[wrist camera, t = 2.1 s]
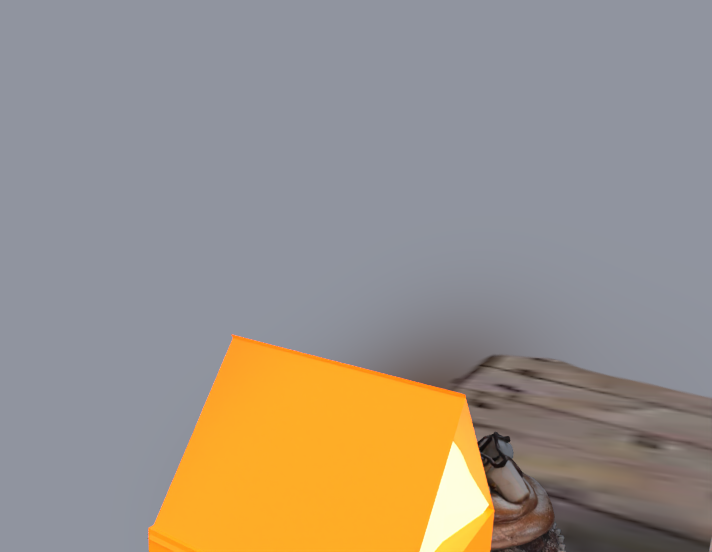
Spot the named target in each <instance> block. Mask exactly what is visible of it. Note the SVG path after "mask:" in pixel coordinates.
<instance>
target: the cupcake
mask: <svg viewBox="0 0 712 552" xmlns="http://www.w3.org/2000/svg"><path fill="white" fill-rule="evenodd" d="M508 442H510V437H509V436H506V437H503V436H501V435H499V434H498V433H497V432H494V434H492V435H489V436H485V437H483V438H482V439H481V440H480V441H479V442H477V445H478V449H479V452H480V456H481V460H482V464H483V468H484V472H485V476H486V480H487V484H488V488H489V492H490V496H491V500H492V504H493V508H494V519H493V529H492V539H491V548H490V552H566V551H564V548H565V546H566V545H565V544H564V543H563V540H564V537H563V536H560V532H561V530H560V529H559V528H557V529H555V526H556V523H555V522H554V512H553V508H552V503H551V501H550V499H549V497H548V495H547V493H546V492H545V490H544V489H543V488H542V487H541V485H540V484H539V483H538V482H537V481H536V480H535V479H534V478H532V477H530V476H528V475H526V474H524V473H523V472H522V471H521V470H520V468H519V467H518V466H517V464H516V463H515V462H514V461H513V460H512V458H513V449H512V446H511V445H510V444H509V443H508Z"/></svg>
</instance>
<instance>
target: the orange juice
mask: <svg viewBox="0 0 712 552" xmlns="http://www.w3.org/2000/svg"><path fill="white" fill-rule="evenodd" d="M232 337H233V339H232V342H231V344H230V346H229V349H228V351H227V354H226V356H225V358H224V361H223V363H222V365H221V368H220V370H219V373H218V375H217V377H216V380H215V382H214V384H213V387H212V389H211V391H210V394H209V396H208V398H207V401H206V403H205V406H204V408H203V410H202V413H201V415H200V418H199V420H198V422H197V424H196V427H195V429H194V432H193V434H192V436H191V439H190V441H189V443H188V446H187V448H186V450H185V453H184V455H183V458H182V460H181V462H180V465H179V467H178V469H177V472H176V474H175V476H174V479H173V481H172V484H171V486H170V489H169V491H168V493H167V496H166V498H165V500H164V503H163V505H162V507H161V510H160V512H159V514H158V517H157V519H156V522H155V524H154V525H153V526H151V527H150V528H149V538H148V539H149V552H490V548H491V539H492V529H493V519H494V508H493V504H492V500H491V496H490V492H489V488H488V484H487V480H486V476H485V472H484V468H483V464H482V460H481V456H480V452H479V449H478V445H477V441H476V437H475V433H474V429H473V425H472V421H471V417H470V413H469V409H468V405H467V401H466V397H465V395H464V394H460V393H456V392H453V391H449V390H445V389H441V388H437V387H433V386H429V385H425V384H421V383H418V382H414V381H410V380H406V379H402V378H398V377H394V376H390V375H387V374H383V373H379V372H375V371H371V370H367V369H363V368H359V367H355V366H352V365H347V364H344V363H340V362H336V361H332V360H328V359H324V358H320V357H316V356H313V355H309V354H304V353H301V352H297V351H293V350H289V349H285V348H282V347H278V346H273V345H270V344H266V343H262V342H258V341H254V340H250V339H246V338H243V337H239V336H235V335H232Z"/></svg>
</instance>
